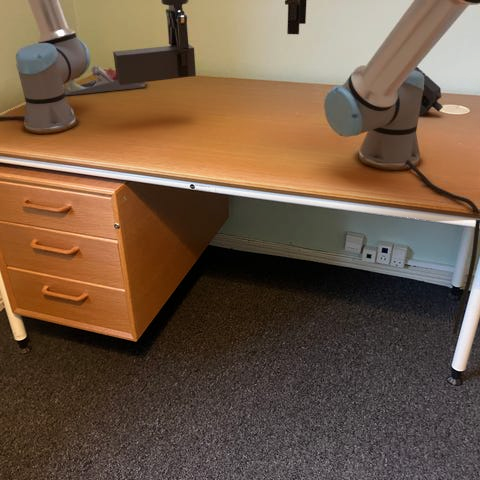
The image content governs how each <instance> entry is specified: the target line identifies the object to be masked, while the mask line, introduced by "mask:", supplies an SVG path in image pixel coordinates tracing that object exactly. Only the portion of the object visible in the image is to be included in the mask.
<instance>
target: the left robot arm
mask: <svg viewBox="0 0 480 480" xmlns="http://www.w3.org/2000/svg"><path fill="white" fill-rule="evenodd" d="M27 1H28V5H29V7H30V9H31V12H32V15H33V17H34V20H35V23H36V25H37V28H38V31H39V34H40V35H39V37H38V39H37V43H33V44H29V45H26V46H25V45H24V46H23V47H21V48H20V49H18V50H17V52H16V53H15V62H16V69H17V72H18V76H19V81H20V85H21V89H22V92H23V96H24V101H25V111H24V115H12V116H0V120H4V121H6V120H8V121H9V120H23V124H24V129H25V130H26V132H29V133H31V134H36V135H37V134H38V135H39V134H40V135H47V134H49V135H50V134H57V133H60V132H64V131H67V130H70V129H72V128H73V127H75V126H76V125H77V117H76V115H75V111H74V109H73V107H71V105H70V104H69V102H68V100H67V98H66V95H65V92H64V85H63V84H65V83H67V82H69V81H71V80H73V79H74V80H75V79H78V78H80V77H82V75H84V74H85V73H87V71H88V69H89V67H90V65H91V54H90V50H89V48H88V46H87V45H86V43H85V42H83V41H82V39H79V38H78V37H77V34H76V31H75V30H74V29H72V28H70V27H69V26H68V23H67V19H66V17H65V14H64V10H63V9H62V8H63V7H62V5H61V3H60V0H27ZM160 2H161V4H162V5H165V6H168V8H166V9H165V13H166V14H165V15H166V24H167V37H168V46H174V45H177V48H178V52H176V54H177V58H178V71H179V77H183V76H188V62H187V52H189V45H190V44H189V33H188V16H187V14H185V10H184V9H183V5H187V4H188V3H189V0H161V1H160Z"/></svg>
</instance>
